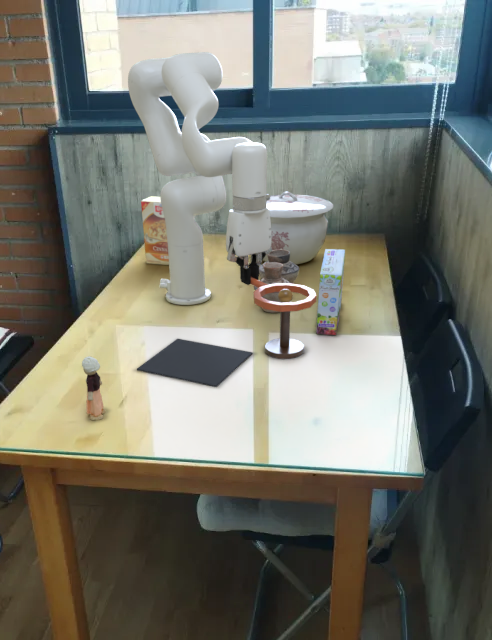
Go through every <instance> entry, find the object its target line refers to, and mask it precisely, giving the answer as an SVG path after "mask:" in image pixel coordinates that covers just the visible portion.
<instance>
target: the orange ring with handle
mask: <svg viewBox="0 0 492 640" xmlns="http://www.w3.org/2000/svg"><path fill="white" fill-rule="evenodd" d="M250 285H251V286H253V287H254V286H255V287H257V288H258V289H256V290H253V293H252V299H253V303H254V305H255V306H258V307H260V308H261V309H262V308H264V309H267V310H273V311H279V312H278V313H280V312H285V311H290V312H299V311H303V310H306V309H310V308H312V307H313V306H314V305H315V304H316V303H317V299H318V298H317V297H318V296H317V293H316V291H315V290H314V288H311V287H308V286H306V285H304V284H297V283H293V284H292V283H274V284H269V285H268V284H265V283H263V282H261V281H260V279H259V280H257V279H255V278H253V277H251V284H250ZM282 289H289V290H290V291H291V292H292V293H296V294H300V295H302V296H304V297H305V298H304V299H301V300H297V301H290V302H284V303H280V302H274V301H269V300H267V299H265V298H263V297H262V296H264V295H265V294H268V293H272V292H280V291H281V290H282Z"/></svg>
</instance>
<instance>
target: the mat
mask: <svg viewBox="0 0 492 640" xmlns="http://www.w3.org/2000/svg"><path fill="white" fill-rule="evenodd" d="M252 355H253V351H247V350H242V349H237V348H231V347H226V346H221V345H219V346H218V345H215V344H208V343H203V342H200V341H194V340H193V341H192V340H188V339H182V338H176V339H175V340H173V342H171V343H170V344H168V345H167V346H165V347H164V348H163V349H162V350H160V351H158V352H157V353H156V354H155V355H153V356H152V357H150V358H149V359H148V360H146V361H145V362H144V363H142V364H141V365H140V366H138V367H137V368H136V371H138V372H143V373H148V374H153V375H157V376H162V377H166V378H171V379H177V380H181V381H186V382H191V383H195V384H198V385H199V384H200V385H204V386H208V387H214V388H217V387H218V386H220V385H221V384H222V383H223V382H224V381H225V380H226V379H227V378H228V377H229V376H230V375H232V373H233V372H235V371H236V370H237V369H238V368H239V367H241V365H242V364H243V363H245V361H246V360H248V359H249V358H250V357H251V356H252Z"/></svg>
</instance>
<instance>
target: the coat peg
mask: <svg viewBox="0 0 492 640" xmlns="http://www.w3.org/2000/svg"><path fill="white" fill-rule="evenodd" d="M278 298H279V300H280V303H284V302H292V300H293V298H294V295H293V292H291V291H290V290H289V289H282V290H281V291H280V292H279V294H278ZM290 332H291V311H285V312H279V338H274V339H271V340H269V341H267V342H266V343H265V345H264V352H265V354H266V355H267V356H269V357H271V358H275V359H279V360H280V359H281V360H290V359H295V358H299V357H300V356H302V355H303V354H304V352H305V344H304V343H303V342H302V341H300V340H298V339H296V338H290V337H291V336H290V335H291V333H290Z"/></svg>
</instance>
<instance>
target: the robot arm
mask: <svg viewBox="0 0 492 640" xmlns="http://www.w3.org/2000/svg"><path fill="white" fill-rule="evenodd" d="M223 74H224V73H223V67H222V65H221V62H220V61H219V59H218V57H217V56H216V55H215V54H213V53H212V52H209V51H200V52H199V51H198V52H185V53H178V54H174V55H171V56H170V57H158V58H149V59H143V60H140V61H138V62H135V63H134V64H133V65H132V66H131V67H130V69H129V71H128V76H127V86H128V94H129V97H130V100H131V103H132V106H133V108H134V110H135V112H136V113H137V115H138V117H139V119H140V121H141V123H142V125H143V127H144V130H145V134H146V137H147V140H148V143H149V148H150V151H151V155H152V158H153V160H154V163H155V166H156V169H157V170H158V172H159V174H161V175H162V176H165V177H173V176H182V175H188V174H195V176H187V177H182V178H176V179H173V180H170V181H168V182H167V183H165V184H164V185H163V186H162V188H161V190H160V193H159V194H160V196H159V197H160V199H161V205H162V209H163V213H164V217H165V223H166V231H167V243H168V255H169V265H168V269H169V279H168V278H161V279H160V281H159V285H158V286H159V289H166V290H167V292H166V293H165V300H166V301H167V302H169V303H170V304H174V305H180V306H191V305H192V306H193V305H199V304H202V303H205V302H207V301H208V300H210V299H211V297H212V292H211V290H210V289H208V288H207V287H206V277H205V276H206V275H205V255H204V254H205V253H204V252H205V251H204V233H203V230H202V228H201V226H200V225H199V224H198V223H197V221H196V219H195V220H194V216H195V217H196V216H200V215H204V214H209V213H214V212H218V211H220V210H222V209H223V208H224V207H225V205H226V203H227V189H226V185H225V181H224V178H223V176H225V175H232V177H231V178H232V182H231V183H232V208H231V209H229V212H228V216H227V223H226V234H225V249H226V252H227V256H226V260H227V261H229V262H231V263H235V264H237V266H239V278H240V282H241V283H242V284H244V285H246V286H249V285H251V277H253V278H255V279H257V280H259V281H260V279H259V278H260V275H259V267H260V266H261V265H262V264H263V259H264V257H265V255H267V254H269V253H270V252H271V251H272V248H271V239H272V236H271V220H270V214H269V209H268V207H266V205H267V200H270V196H271V195H270V194H269V193H268V192H267V189H268V187H267V185H268V184H267V183H268V150H267V147H266V145H265V144H263V143H261V142H253V141H252V140H250V139H249V138H246V137H243V136H236V137H235V136H234V137H228V138H227V137H226V138H220V139H212V140H210V138H209V137H208V136H207V135H205V134H203V133H201V131H200V129H202V128H203V127H205V126H206V125H208V124H209V123H210V122H211V121H212V120H213V119H214V117H215V116H216V115H217V112H218V110H219V106H220V104H219V103H220V102H219V99H218V97H217V95H216V94H215V93H214V91H216V90H217V89H218V88H220V86H221V85H222V81H223V76H224V75H223ZM161 97H172V99H173V101H174V102H175V103H176V105H177V107H178V109H179V111H180V112H181V114H182V116H183V117H184V119H183V123H182V127H181V129H180V125H179V123H178V119H177V115H175V113H174V112H173V111H172V109H171V108H170V107H169V106H168V105H167V104H166V103H165V102H164V101H162V100H161V99H160V98H161ZM249 256H250V262H249Z"/></svg>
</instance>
